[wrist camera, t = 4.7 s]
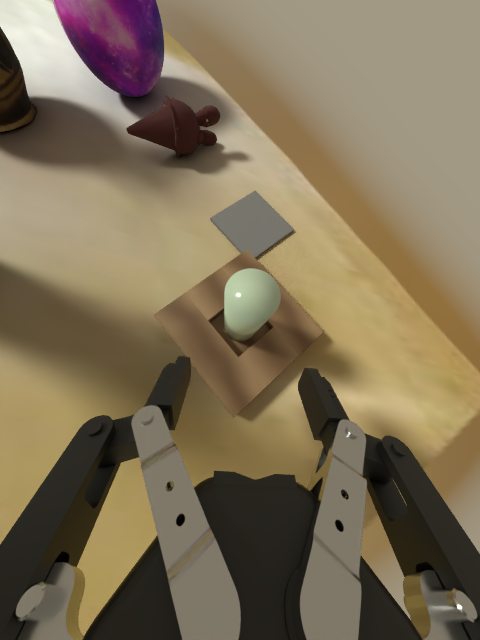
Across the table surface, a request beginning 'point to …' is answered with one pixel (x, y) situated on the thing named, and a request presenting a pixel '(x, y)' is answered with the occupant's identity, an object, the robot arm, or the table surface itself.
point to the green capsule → (249, 302)
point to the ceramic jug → (12, 90)
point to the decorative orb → (116, 41)
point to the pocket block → (226, 354)
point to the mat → (252, 224)
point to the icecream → (177, 126)
